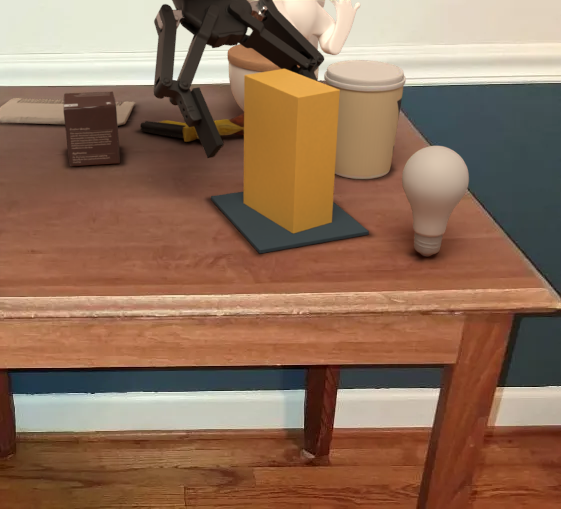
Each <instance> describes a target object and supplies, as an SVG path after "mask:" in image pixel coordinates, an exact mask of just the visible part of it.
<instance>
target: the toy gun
mask: <svg viewBox="0 0 561 509" xmlns="http://www.w3.org/2000/svg"><path fill="white" fill-rule="evenodd" d="M213 120H214V123H215V125H216V127H217V130H218V132H219V134H220V136H228V135H237V136H238V135H239V136H244V112H242V113H240V114H238V115H237V116H235V117H232V118H230V119H229V118H222V119H213ZM140 131H141V132H143V133H149V134H155V135H160V136H164V137H165V136H166V137H172V138H178V139H183V141H184V143H185V142H186V143H187V142H188V143H189V142H192V141H195V140H200V139H199V137H198V134H197V132H196V130H195V127H188V125H187V124H186V123H185V122H183V121H182V122H181V121H175V120H169V119H164V120H159V121H150V120H145V121H143V122H141V123H140Z"/></svg>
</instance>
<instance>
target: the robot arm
mask: <svg viewBox="0 0 561 509" xmlns="http://www.w3.org/2000/svg"><path fill="white" fill-rule="evenodd" d="M171 1H172V3H173V6H174V8H175V9H173V7H172V6H171V5H169V4H167V3H163V4H162V5H160V6H161V7H160V9H159V10H158V12H157V14H156V16H155V18H154V20H153V24H154V27H155V30H156V33H157V36H158V37H157V47H156V58H155V69H154V70H155V71H154V82H153V95H154V97H155V98H157V99H159V100H161V99H162V100H163V99H164V98H168V100H169V103H170V104H171V105H172V106H178V108H179V111H180V114H181V115H182V118H183V121H184V123H186V124H187V125H188V127H195V130H196V132H197V134H198V137H199V139H198V140H199V141H200V144H201V147H202V149H203V151H204V154H205V156H206V158H207V159H210V158H211V159H212V158H214V157H216V155H217V154H218V153H219V151H220V150H221V149H222V148H223V147H224V146H225V143H224V142H223V138H222V136H221V135H220V134H219V132H218V130H217V127H216V125H215V123H214V120H215V119H214V118H213V115H212V114H211V111H210V109H209V107H208V104H207V102H206V99H205V97H204V95H203V92H202V90H201V87H194V88H191V86H192V84H193V81H194V78H195V76H196V73H197V70H198V68H199V65H200V63H201V60H202V57H203V55H204V52H205V49H206V46H209V47H211V48H212V49H217V48H221V47H223V46H230V47H233V46H236V45H239V44H241V45H242V46H244V47H245V48H252V49H254V50H255V51H257V52H258V53H259V54H261V55H262V56H264V57H265V58H267V59H268V60H269V61H271V62H272V63H274V64H275V65H277V66H278V67H280V68H281V69H287V70H289V71H292V72H295V73H297V74H300V75H302V76H305V77H308V78H310V79H313V80H315V81H318V82H319V79H318V80H317V78H316V76H315V73H314V72H315V71H316V69H317V68H318V67H320V66H321V65H322V64H323V63H324V62H325V56H324V54H322V53H321V51H320V50H319V49H318V50H317V49H316V48H315V47H314V46H313V45H312V44H311V43H310V42H309V41H308V40H307V39H306V38H305V37H304V36H303V35H302V34H301V33H300V32H299V31H298V30H297V29H296V28H295V27H294V26H293V25H292V24H291V23H290V22H289V21H288V20H287V19H286V18H285V17H284V16H283V15H282V14H281V13H280V12H279V11H278V9H277V7H276V6H275V4H274V2H273V0H258V1H254V2H250V3H249V2H248V1H247V0H171ZM253 16H254V17H253ZM180 25H181V27H183V28H184V29H185V30H187V31H188V32H189V33H190V34H192V35H193V36H192V39H191V42H190V44H189V47H188V49H187V54H186V56H185V59H184V61H183V64H182V66H181V69H180V72H179V74H178V77H177V79H174V69H175V68H174V67H175V54H176V44H177V43H176V42H177V32H178V31H177V30H178V28H179V26H180ZM249 29H250V30H251V33H250V34H249V35H248V34H247V33H248V30H249ZM297 65H298V66H300V67H297Z"/></svg>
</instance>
